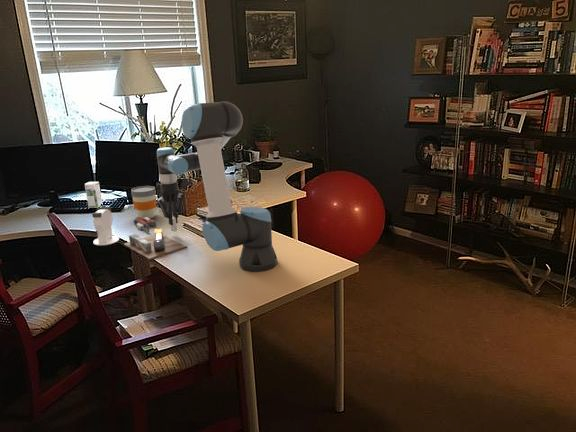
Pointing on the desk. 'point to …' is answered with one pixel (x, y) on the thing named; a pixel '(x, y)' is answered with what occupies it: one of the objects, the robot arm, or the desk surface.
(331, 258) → the desk surface
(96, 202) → the syrup box
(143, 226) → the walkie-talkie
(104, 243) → the white figurine
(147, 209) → the reusable coffee cup
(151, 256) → the board
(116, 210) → the desk surface
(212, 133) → the robot arm
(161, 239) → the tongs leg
